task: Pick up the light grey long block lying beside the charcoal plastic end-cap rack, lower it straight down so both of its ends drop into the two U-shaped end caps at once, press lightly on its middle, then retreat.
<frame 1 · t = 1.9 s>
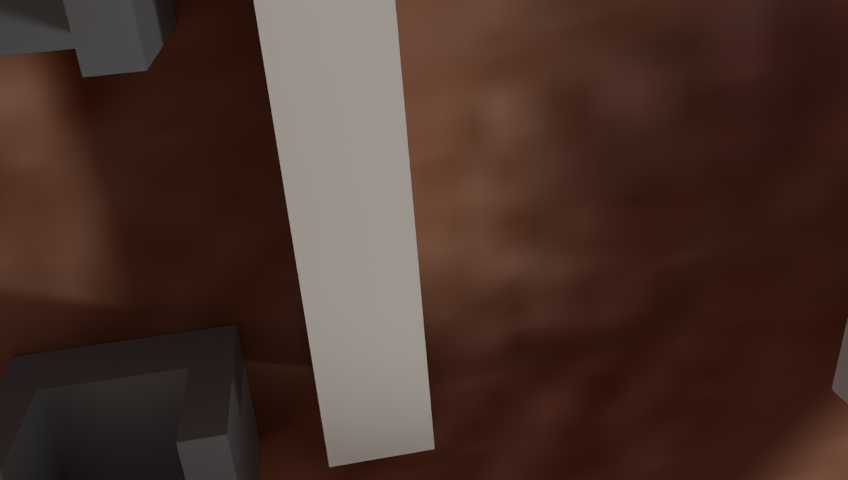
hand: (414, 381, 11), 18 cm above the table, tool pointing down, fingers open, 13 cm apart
light grey long block: (339, 168, 28), on the table
endcap rack: (89, 201, 27), on the table
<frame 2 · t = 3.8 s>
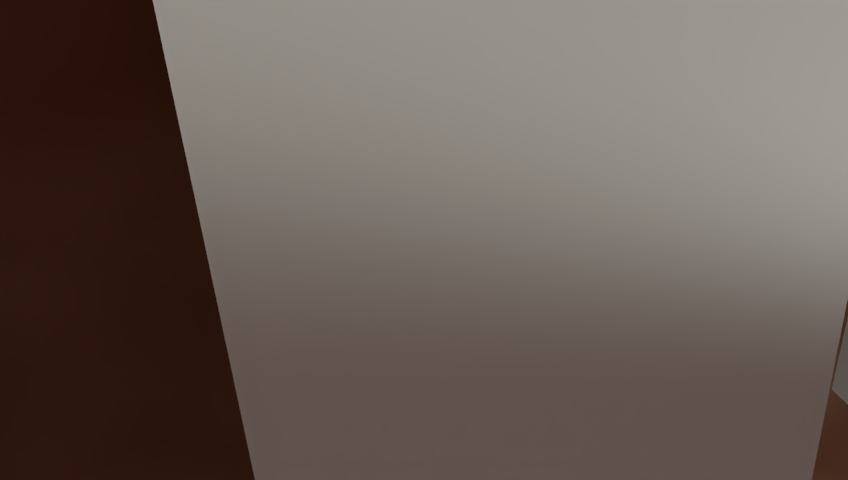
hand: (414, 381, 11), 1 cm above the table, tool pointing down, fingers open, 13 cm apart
light grey long block: (415, 352, 12), on the table
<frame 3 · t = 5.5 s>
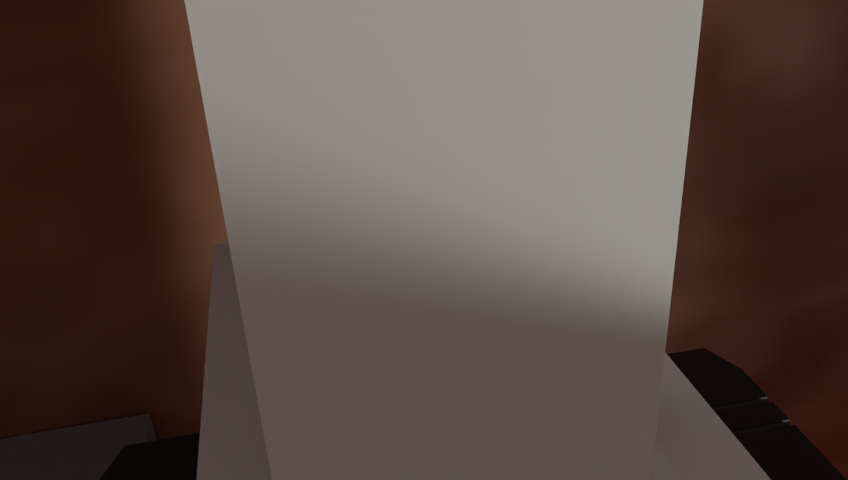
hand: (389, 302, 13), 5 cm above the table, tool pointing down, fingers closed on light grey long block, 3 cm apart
light grey long block: (383, 278, 13), point 4 cm above the table, touching gripper
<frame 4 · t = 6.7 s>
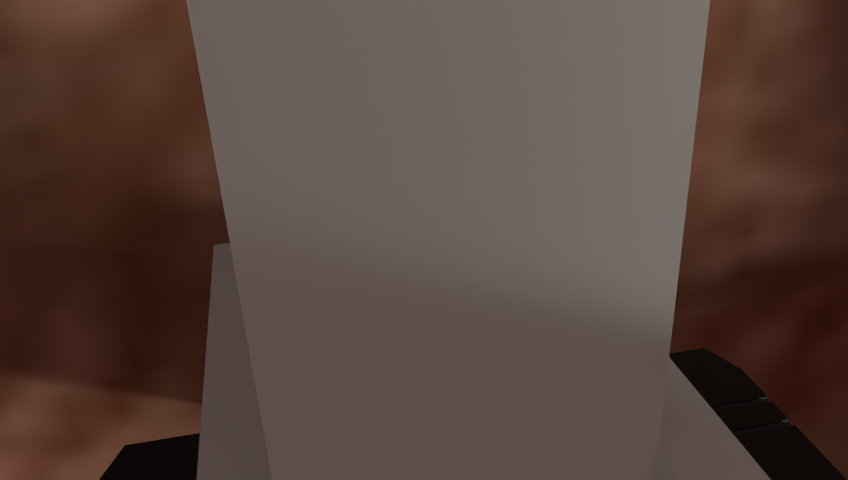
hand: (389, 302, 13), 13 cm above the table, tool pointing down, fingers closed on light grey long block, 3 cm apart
light grey long block: (383, 279, 13), point 12 cm above the table, touching gripper
when the fingers open (2 cm above the table, at t = 8.2 s): light grey long block stays where it is, resting on endcap rack.
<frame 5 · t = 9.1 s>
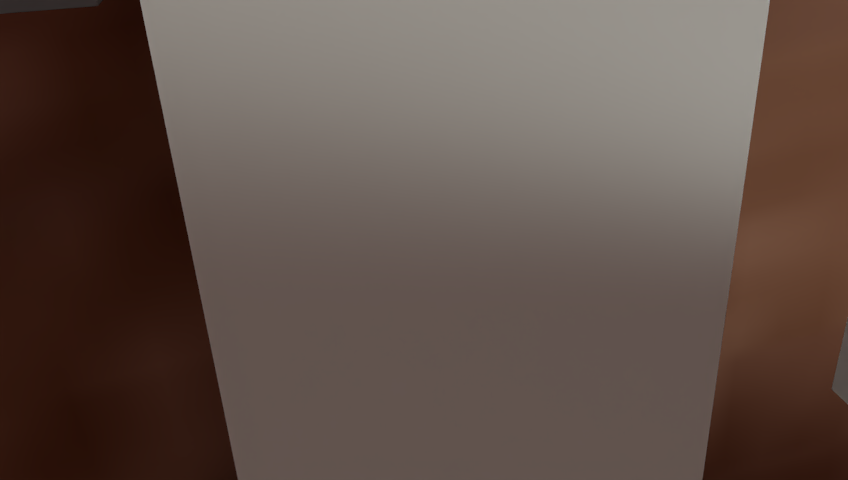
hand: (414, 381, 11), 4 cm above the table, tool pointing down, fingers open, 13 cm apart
light grey long block: (383, 307, 12), point 2 cm above the table, touching endcap rack
endcap rack: (370, 243, 14), on the table
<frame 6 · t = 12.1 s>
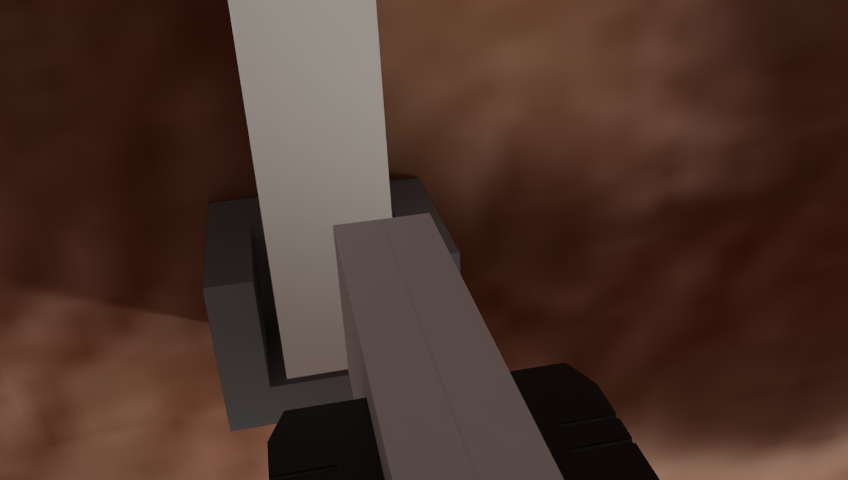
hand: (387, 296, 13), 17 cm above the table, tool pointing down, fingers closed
light grey long block: (299, 57, 26), point 2 cm above the table, touching endcap rack
endcap rack: (299, 45, 28), on the table
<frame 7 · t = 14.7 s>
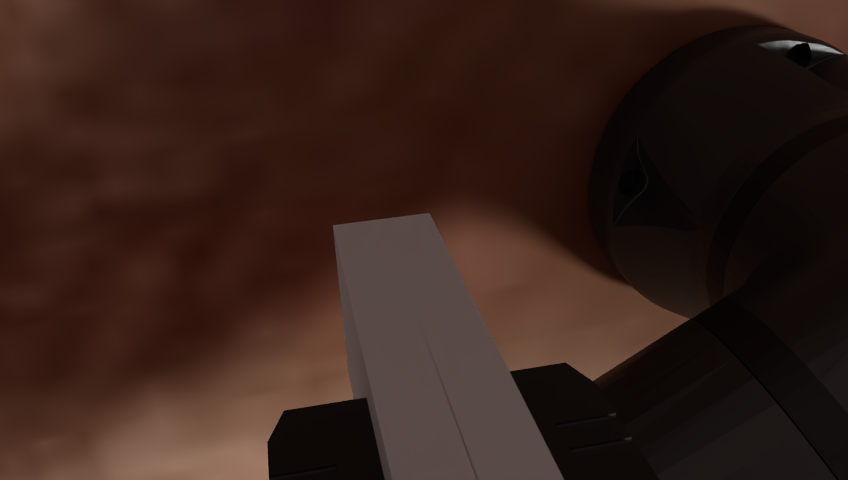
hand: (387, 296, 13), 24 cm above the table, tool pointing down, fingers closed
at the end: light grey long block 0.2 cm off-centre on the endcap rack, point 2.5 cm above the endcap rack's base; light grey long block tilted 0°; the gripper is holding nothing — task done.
